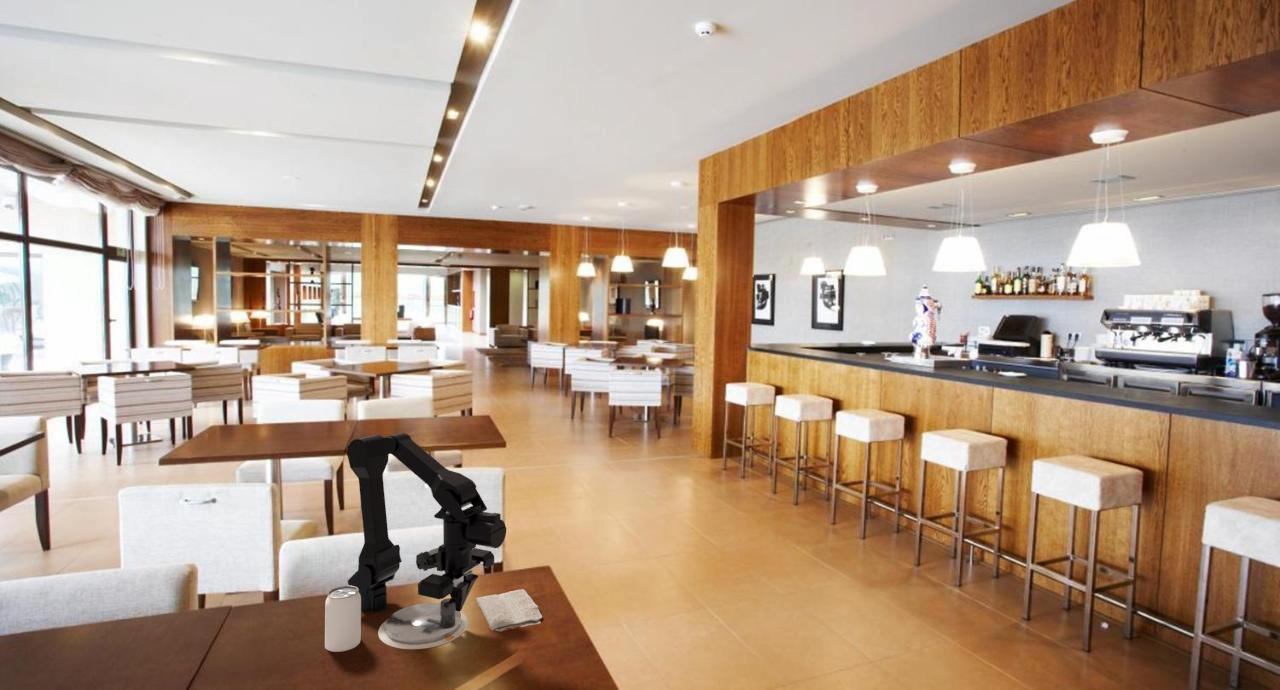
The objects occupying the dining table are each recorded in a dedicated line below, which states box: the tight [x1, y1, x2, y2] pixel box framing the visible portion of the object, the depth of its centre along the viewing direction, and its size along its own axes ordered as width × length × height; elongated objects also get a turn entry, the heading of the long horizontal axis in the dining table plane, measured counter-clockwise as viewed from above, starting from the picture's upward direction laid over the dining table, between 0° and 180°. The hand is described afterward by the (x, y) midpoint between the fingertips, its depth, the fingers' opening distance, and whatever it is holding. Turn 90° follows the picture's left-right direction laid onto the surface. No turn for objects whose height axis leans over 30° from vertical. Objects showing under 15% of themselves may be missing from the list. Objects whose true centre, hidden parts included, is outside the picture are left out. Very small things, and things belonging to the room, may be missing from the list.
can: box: [324, 585, 362, 653], centre depth 129 cm, size 6×6×12 cm
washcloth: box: [475, 588, 543, 632], centre depth 146 cm, size 12×18×3 cm, turn 28°
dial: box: [386, 597, 462, 644], centre depth 137 cm, size 15×15×6 cm
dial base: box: [377, 611, 469, 650], centre depth 137 cm, size 18×18×2 cm
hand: (458, 610), depth 138 cm, fingers closed
